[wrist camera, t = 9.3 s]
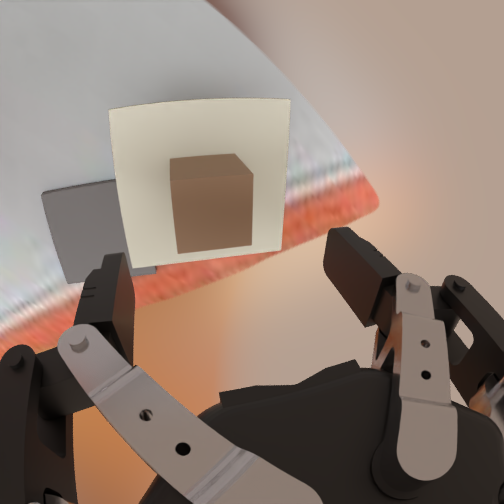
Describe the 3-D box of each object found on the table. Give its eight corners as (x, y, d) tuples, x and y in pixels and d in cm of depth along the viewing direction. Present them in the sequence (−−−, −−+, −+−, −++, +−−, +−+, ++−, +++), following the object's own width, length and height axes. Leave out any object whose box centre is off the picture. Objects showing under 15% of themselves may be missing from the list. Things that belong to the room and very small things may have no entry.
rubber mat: (43, 192, 29) (40, 195, 28) (142, 175, 32) (141, 178, 31) (69, 279, 36) (67, 283, 35) (156, 269, 39) (156, 273, 38)
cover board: (111, 108, 15) (88, 118, 11) (285, 98, 17) (324, 106, 13) (133, 262, 21) (128, 311, 16) (277, 245, 23) (303, 286, 19)
